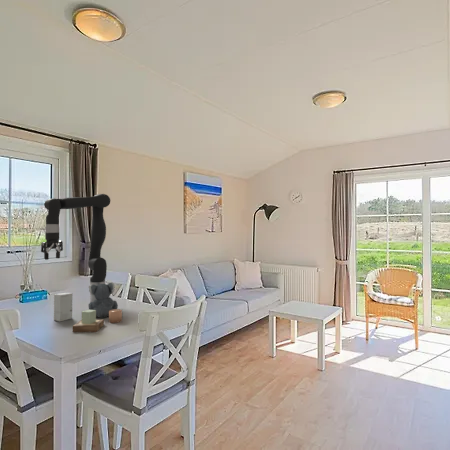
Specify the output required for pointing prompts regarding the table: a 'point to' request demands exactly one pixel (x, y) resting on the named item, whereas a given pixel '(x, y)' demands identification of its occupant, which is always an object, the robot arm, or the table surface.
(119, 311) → the tan rounded block
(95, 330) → the walnut base
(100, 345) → the table surface
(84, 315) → the sage block
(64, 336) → the table surface
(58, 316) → the skincare box
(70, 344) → the table surface
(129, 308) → the table surface
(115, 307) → the koala plush
